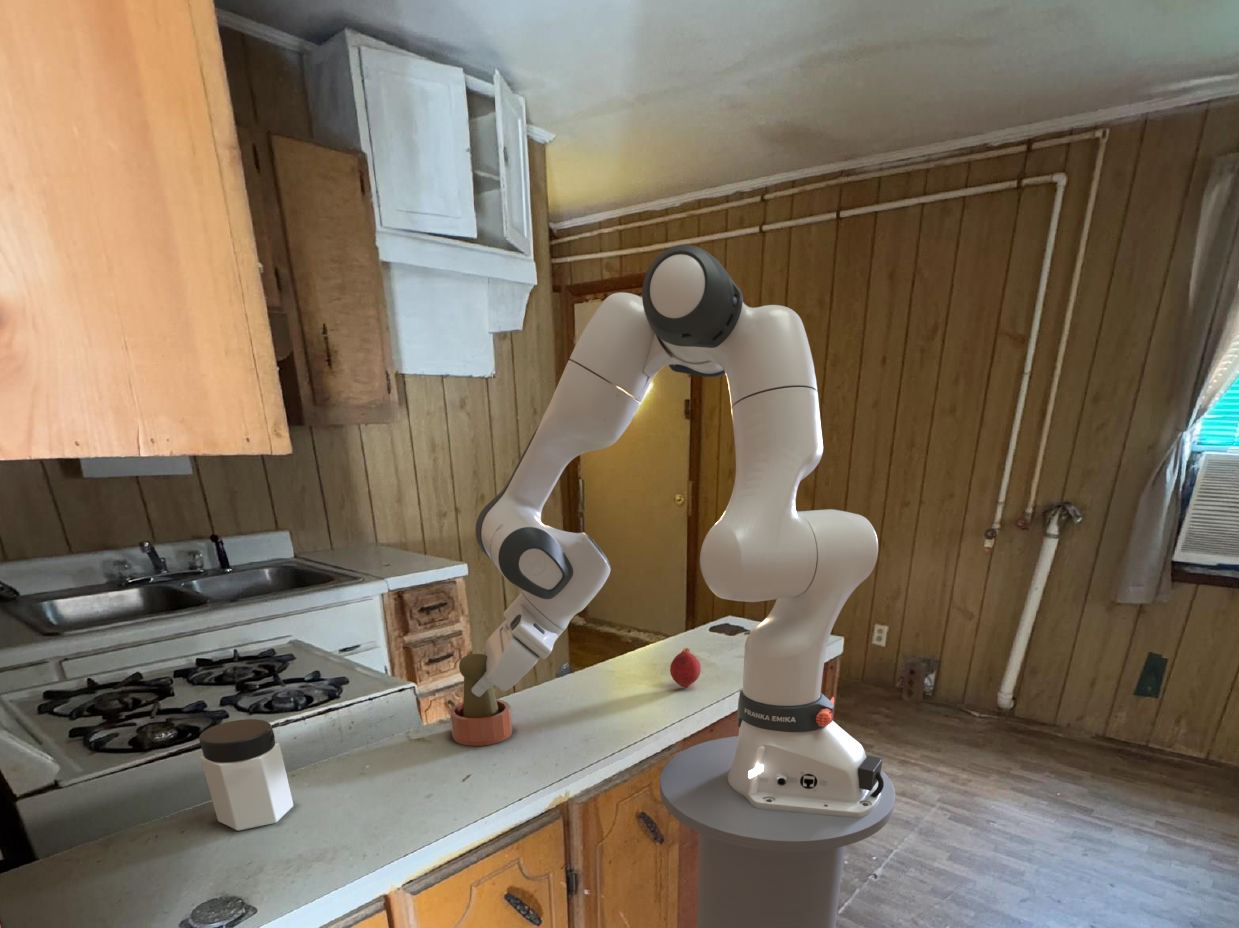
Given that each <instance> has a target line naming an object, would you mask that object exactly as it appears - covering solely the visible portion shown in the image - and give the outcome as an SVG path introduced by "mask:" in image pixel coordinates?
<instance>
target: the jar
mask: <svg viewBox="0 0 1239 928" xmlns="http://www.w3.org/2000/svg"><path fill="white" fill-rule="evenodd" d="M275 736H276V735H275V731H274V730H273V726H272V724H271V723H270V722H268V721H266V720H262V719H258V718H257V719H256V718H249V719H248V718H247V719H237V720H231V721H226V722H222V723H220V724H216V725H213V726H211V727H209V728H207V729H205V730H204V731H203V732H201V733H200V735H199V737H198V740H199V743H200V748H201V751H202V755H201V756H200V757H199V759H200V761H201V765H202V769H203V772H204V776H205V780H206V783H207V787H208V791H209V794H210V797H211V801H212V804H213V805H212V806H213V808H214V811H215V814H216V819H217V822H219V823H221V824H223V825H225V826H227V827H228V828H231V829H233V830H235V831H238V832H240V831H244V830H249V829H254V828H258V827H263V826H267V825H273V824H276V823H278V822H279V821H280V820H281V819H282V818H283V817H284V816H285V815H286V814H288V812H289V811H290V810H291V809H292V808H293V807H294V802H293V797H292V792H291V789H290V784H289V783H290V782H289V779H288V776H287V775H288V774H287V770H286V766H285V762H284V757H283V753H282V749H281V744H280V743H279V742H276V739H275Z"/></svg>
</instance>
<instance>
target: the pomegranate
mask: <svg viewBox="0 0 1239 928" xmlns="http://www.w3.org/2000/svg"><path fill="white" fill-rule="evenodd" d="M701 667H702V666H701V662H700V660H699V659H698V658H697V657H696V656H695V654H693V653H692V652H691V650H690V648H689V647H688V646H687V647H684V648H683V649H682V651H681V652H679V653H678V654H677V655H675V656H674V658H673V660H672V661H671V663H670V666H669V673H670V676H671V679H672V680H673V681H674V682H675V683H676V684H677V685H678V686H680V687H682V688H684V689H687V688H689V687H690V686H691V685H692V684H694V683H695V682H696V681H698V679H699V677H700V675H701V671H702V668H701Z"/></svg>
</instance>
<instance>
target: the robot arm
mask: <svg viewBox="0 0 1239 928" xmlns="http://www.w3.org/2000/svg"><path fill="white" fill-rule="evenodd" d="M808 339H809V338H808V336H807V332H806V329H805V326H804V323H803V320H802V318H801V317H800V315H799V314H798V313H797V312H796V311H794V310H793V309H792V308H790V307H787V306H785V305H780V304H765V305H762V306H758V307H751V306H748V305H747V304H745V303H744V295H743V291H742V290H741V289H740V288H739V286H738V285H737V284H736V283H735V281H734V280H733V278H732V277H731V275H730V274H729V273H728V271H727V270H726V269H725V267H724V266H723V264H722V263H721V262H720V261H719V260H718V259H717V258H716V257H714V256H713V255H712V254H711V253H709V251H706V250H705V249H703V248H701V247H698V246H696V245H691V244H678V245H674V246H671V247H669V248H667V249H665V250H664V251H662V252H661V253H660V254H658V256H656V257H655V259H654V260H653V261H652V263H651V264H650V266H649V267H648V270H647V272H646V274H645V277H644V280H643V283H642V291H641V296H640V295H638V294H634V293H630V292H615V293H614V292H613V293H611V294H610V295H608V296H607V297H606V298H605V299H604V300H603V301H602V302H601V304H600V305H599V307H598V308H597V309H596V311H595V312H594V314H593V316H592V317H591V318H590V320H589V322H588V323H587V325H586V326H585V328H584V329H583V331H582V333H581V334H580V337H579V339H578V341H577V342H576V344H575V346H574V348H573V350H572V353H571V354H570V357H569V360H568V361H567V363H566V365H565V367H564V370H563V373H562V374H561V377H560V379H559V382H558V384H557V386H556V388H555V390H554V393H553V395H552V397H551V399H550V402H549V403H548V406H547V408H546V410H545V412H544V414H543V416H542V418H541V420H540V422H539V423H538V425H537V427H536V429H535V430H534V432H533V434H532V435H531V438H530V439H529V441H528V443H527V445H526V447H525V449H524V451H523V452H522V454H521V457H520V459H519V460H518V462H517V464H516V466H515V467H514V470H513V472H512V473H511V476H510V477H509V479H508V481H507V483H506V484H505V486H504V487H503V488H502V490H500V492H499V493H498V494H497V495H496V496H495V497H494V498H493V499H491V500H490V502H488V503H487V504H486V505H485V506H484V507H483V509H481V512H480V513H479V515H478V517H477V519H476V523H475V530H474V532H475V538H476V543H477V545H478V546H479V549H480V550H481V551H482V553H483V554H484V555H485V556H486V557H488V559H489V560H491V562H492V563H493V565H494V566H495V568H496V569H497V570H498V572H499V573H500V574H501V576H502V577H503V578H504V579H505V580H506V581H508V582H509V583H510V584H512V585H514V586H516V587H517V588H519V589H521V590H522V591H521V592H520V593H519V594H518V595H517V597H516V598H515V599H514V600H513V601H512V603H510V604H509V606H508V607H507V608H506V609H505V610H504V611H503V613H502V614H503V617H504V618H505V620H503V622H502V623H501V624H500V625H499V626H498V627H497V628H496V629H495V630H494V631H493V632H492V634H490V635H489V636H488V638H487V639H486V641H485V643H484V649H485V651H484V652H485V655H486V656H487V661H486V668H487V671H486V672H485V673H484V676H483V677H482V678H481V679H480V680H479V681H478V680H477V681H476V683H475V684H474V685H473V686H472V690H471V691H472V693H474V694H475V695H476V696H478V697H480V696H482V694H483V693H484V692H485V691H486V690H488V689H489V688H491V687H492V686H493V687H494V686H495V687H496V688H497V689H499V690H500V691H502V692H506V691H508V690H510V689H512V688H513V687H514V686H515V685H516V684H517V683H518V682H519V681H520V680H522V678H524V677H525V675H527V674H528V673H529V672H530V671H531V670H532V669H533V667H535V666H536V664H537V663H538V661H539V660H540V659H542V660H545V659H546V658H548V657H549V655H550V654H551V653H552V651H553V649H554V645H555V643H556V642H557V640H558V639H559V637H560V636H561V635H562V634H563V632H564V631H565V630H566V629H567V628H568V626H569V624H570V622H571V620H572V619H573V618H574V617H575V616H576V615H577V614H579V613H580V612H582V611H583V610H585V608H586V607H587V606H588V605H589V604H590V603H591V602H592V600H593V599H594V598H595V597H596V596H597V595H598V593H599V592H600V591H601V590H602V588H603V586H605V583H606V582H607V580H608V578H609V577H610V574H611V564H610V561H609V559H608V557H607V555H605V553H604V552H603V550H602V548H601V547H600V546H599V545H598V544H597V543H596V542H595V540H594V539H593V538H592V537H591V536H590V535H589V534H587V533H585V532H570V531H566V530H562V529H558V528H555V527H552V526H550V525H547V524H544V523H543V522H542V512H543V508H544V506H545V504H546V502H547V501H548V499H549V497H550V495H551V494H552V491H553V489H554V488H555V486H556V484H557V482H558V481H559V479H560V477H561V476H562V474H563V472H564V471H565V468H566V467H567V466H568V465H569V464H570V463H571V462H572V461H573V460H574V459H575V458H577V457H578V456H580V455H583V454H585V453H588V452H593V451H601V450H603V449H606V448H609V447H611V446H613V445H614V444H616V443H617V442H618V441H619V440H620V438H621V436H622V435H624V433H625V431H626V430H627V429H628V427H629V425H630V424H631V423H632V421H633V419H634V417H635V415H636V413H637V411H638V410H639V408H640V405H641V403H642V401H643V398H644V397H645V395H646V393H647V391H648V388H649V386H650V384H651V382H652V381H653V379H654V377H655V376H656V375H657V374H658V373H659V371H661V369H663V368H664V367H667V366H669V368H670V370H671V371H673V372H676V373H680V374H687V375H693V376H698V377H702V378H720V377H725V376H726V381H727V384H728V391H729V399H730V410H731V419H732V429H733V438H734V439H733V440H734V453H735V475H734V476H735V477H734V484H733V489H732V492H731V494H730V495H731V496H730V498H729V501H728V504H727V506H726V508H725V510H724V511H723V513H722V515H721V517H720V518H719V519H718V520H717V522H715V524H713V526H711V528H710V529H709V531H708V532H707V534H706V535H705V537H704V539H703V542H702V544H701V549H700V554H699V566H700V567H699V568H700V573H701V575H702V577H703V580H704V582H705V584H706V585H707V587H708V588H709V590H710V591H711V592H712V593H713V594H714V595H715V596H716V597H718V598H719V599H722V600H729V601H736V602H748V603H759V602H763V601H765V602H766V601H772V600H775V603H774V605H773V607H772V609H771V610H770V612H769V613H768V615H767V616H766V617H765V618H764V619H763V620H762V621H760V623H759V624H757V625H756V626H755V627H754V628H753V629H752V630H751V631H750V632H749V634H747V635H748V636H747V637H746V640H745V644H744V650H743V651H744V653H743V672H742V673H743V674H742V689H741V690H739V696H738V700H737V715H736V716H737V727H738V728H739V730H738V735H737V736H738V741H737V746H736V751H735V755H734V759H733V762H732V766H731V769H730V771H729V774H728V777H727V779H728V783H729V784H730V786H731V787H732V788H733V789H734V790H735V791H737V792H738V793H740V794H742V795H743V796H745V797H746V798H747V799H748V801H749V803H750V804H751V805H752V806H753V807H755V808H758V809H767V810H777V811H788V812H799V813H809V814H820V815H831V816H841V817H852V818H861V817H863V816H866V815H868V814H869V813H871V812H872V811H873V810H874V809H875V808H876V807H877V805H878V804H879V801H880V798H881V791H882V789H883V786H884V782H883V778H882V776H881V770H882V767H883V757H878V756H873V755H866V751H865V748H864V747H863V745H862V744H861V743H860V742H859V741H858V740H856V739H855V738H854V737H853V736H852V735H850V734H849V733H848V732H847V731H845V730H844V729H843V728H842V727H841V726H839V724H837V723H836V722H835V721H834V720H833V719H834V715H835V714H834V713H835V697H834V696H831V699H829V698H828V697H827V696H826V695H824V694H823V693H822V683H823V676H824V667H825V660H826V653H827V647H828V643H829V639H830V636H831V634H832V631H833V628H834V625H835V623H836V621H837V620H838V617H839V615H840V613H841V611H842V609H843V607H844V605H845V604H846V602H847V600H848V599H849V598H850V596H851V595H852V593H853V592H854V591H855V590H856V589H857V587H859V586H860V585H861V584H862V583H863V582H864V581H865V580H866V579H868V577H869V576H870V575H871V574H872V572H873V570H874V569H875V566H876V563H877V560H878V554H879V541H878V536H877V533H876V531H875V528H874V526H873V525H872V523H871V522H870V520H869V519H868V518H867V517H865V516H863V515H861V514H859V513H854V512H849V511H845V510H839V509H834V508H833V509H832V508H829V509H827V508H826V509H814V510H799V511H797V509H796V500H797V493H798V488H799V485H800V482H801V481H802V480H804V479H805V478H806V477H808V476H809V475H810V474H811V473H812V472H813V471H814V470H815V469H816V468H817V466H818V465H819V464H820V461H821V460H822V457H823V453H824V443H823V432H822V421H821V412H820V403H819V402H820V401H819V393H818V385H817V377H816V372H815V365H814V359H813V355H812V350H811V346H810V343H809V340H808Z"/></svg>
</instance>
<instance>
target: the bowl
mask: <svg viewBox="0 0 1239 928" xmlns="http://www.w3.org/2000/svg"><path fill="white" fill-rule="evenodd" d="M496 701H497V705H498V709H499V714H497V715H494V716H490V717H484V718H465V717H463V706H464V701H462V702H459V703H457V704H455V705H453V706H452V707H451V708H450V710H448V711H449V712H448V713H449V721H450V729H451V734H452V738H453V740H454V742H456V743H457V744H460V745H464V746H469V747H470V746H471V747H482V746H490V745H494V744H498V743H500V742H503V741H506V740H507V739H509V738H510V737H511V736H512V734H513V721H512V720H513V719H512V709H511V708H512V707H511V705H510V704H509V702H506V701H505V700H502V699H497V698H496Z"/></svg>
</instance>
